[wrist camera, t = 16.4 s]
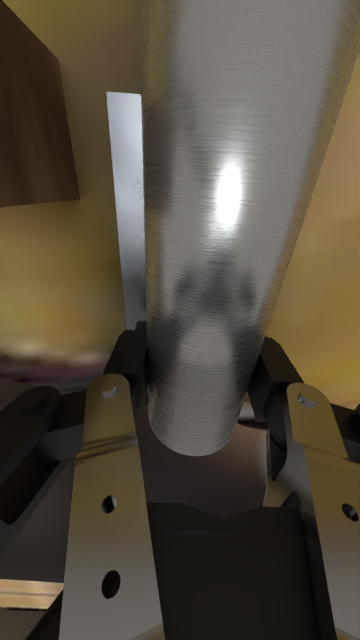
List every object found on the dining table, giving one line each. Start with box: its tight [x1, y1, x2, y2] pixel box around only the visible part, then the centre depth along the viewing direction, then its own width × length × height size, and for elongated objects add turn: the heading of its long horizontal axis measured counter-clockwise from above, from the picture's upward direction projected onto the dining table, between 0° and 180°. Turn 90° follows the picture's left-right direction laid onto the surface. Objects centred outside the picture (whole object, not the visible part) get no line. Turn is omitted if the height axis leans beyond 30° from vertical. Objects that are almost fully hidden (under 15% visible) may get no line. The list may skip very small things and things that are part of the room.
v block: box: [106, 92, 147, 330], centre depth 11 cm, size 10×8×2 cm
